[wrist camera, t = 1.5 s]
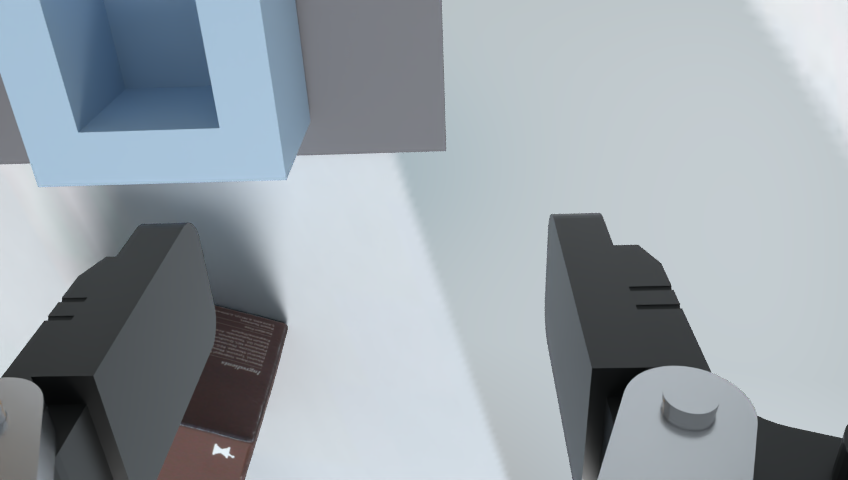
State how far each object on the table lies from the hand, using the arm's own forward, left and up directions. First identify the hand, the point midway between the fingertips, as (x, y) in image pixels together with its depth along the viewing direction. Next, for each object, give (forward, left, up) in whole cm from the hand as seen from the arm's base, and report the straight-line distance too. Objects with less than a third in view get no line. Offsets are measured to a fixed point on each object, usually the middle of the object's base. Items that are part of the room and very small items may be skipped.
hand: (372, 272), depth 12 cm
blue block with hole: (+8, 0, -17) cm, 19 cm away
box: (+10, +15, -18) cm, 26 cm away
